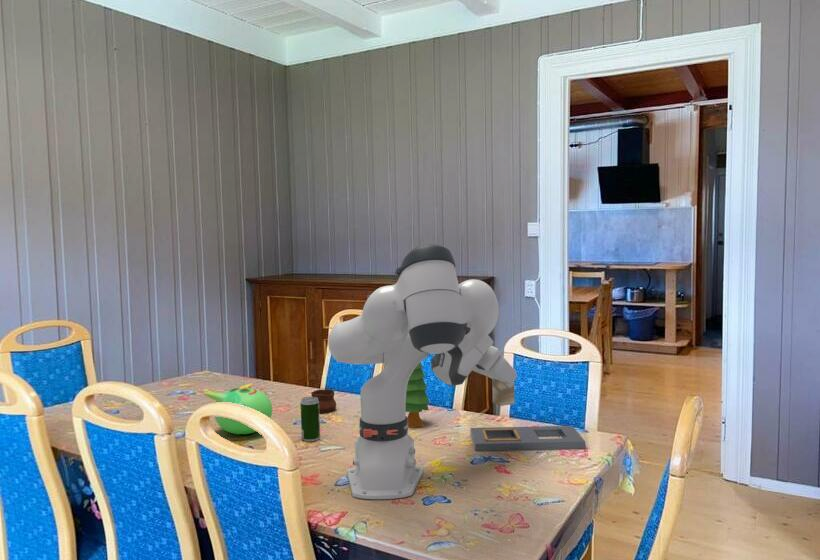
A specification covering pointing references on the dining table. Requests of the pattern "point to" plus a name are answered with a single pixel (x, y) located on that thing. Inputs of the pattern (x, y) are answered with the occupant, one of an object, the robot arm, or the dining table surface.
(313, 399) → the beer can
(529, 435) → the grey flat plate
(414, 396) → the decorative tree
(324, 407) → the ceramic pot
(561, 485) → the dining table surface
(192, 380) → the dining table surface
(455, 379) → the robot arm
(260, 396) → the green teapot
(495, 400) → the wooden peg
